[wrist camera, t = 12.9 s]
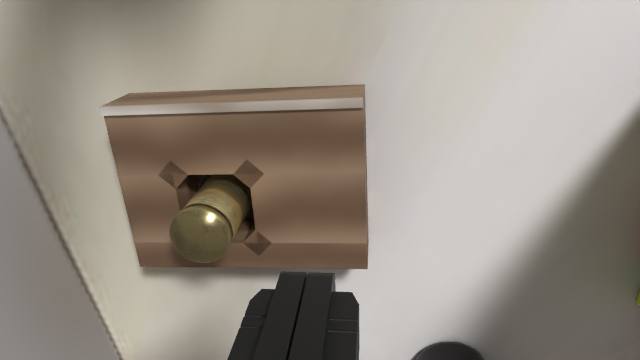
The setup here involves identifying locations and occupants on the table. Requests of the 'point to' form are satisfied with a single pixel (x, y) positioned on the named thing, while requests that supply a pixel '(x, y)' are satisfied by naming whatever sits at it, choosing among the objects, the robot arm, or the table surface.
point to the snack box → (638, 299)
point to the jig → (249, 171)
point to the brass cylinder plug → (211, 218)
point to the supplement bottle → (449, 352)
